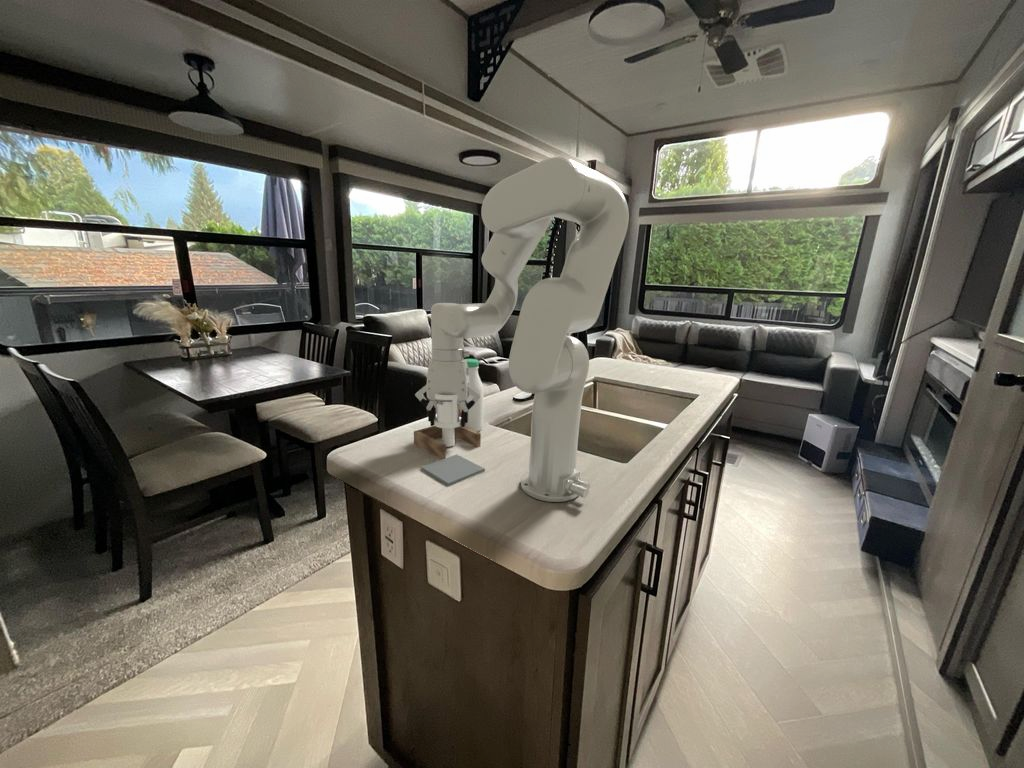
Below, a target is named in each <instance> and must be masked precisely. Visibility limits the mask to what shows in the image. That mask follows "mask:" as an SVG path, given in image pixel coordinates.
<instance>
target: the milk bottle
mask: <svg viewBox="0 0 1024 768" xmlns="http://www.w3.org/2000/svg"><path fill="white" fill-rule="evenodd" d="M463 360H466V361H467V365H468V373H469V385H470V386H471V387H472V388H473V389H474V390H475V391H477V392H478V393H479V394H480V395H481V397H480V399H479V400H478V401H477V402H476V403H475V404H474V405H473V406H472V407H471V408H470V409H469V410H468V423H466V424H465V426H464V427H467V428H469V429H472V430H474V431H476V432H481V431H482V429H483V428H484V398H485V397H484V385H483V382H482V380H481V377H480V375H479V368H480V367H479V364H480V363H479V360H478V359H476V358H463ZM472 399H473V396H472V395H471V394H470V393H469V396H468V397H467V402H469V401H471V400H472ZM458 403H459V402H458ZM461 412H462V407H461V405H460V403H459V417H461Z"/></svg>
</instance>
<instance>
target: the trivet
mask: <svg viewBox="0 0 1024 768" xmlns="http://www.w3.org/2000/svg"><path fill="white" fill-rule="evenodd" d="M420 470H421V471H423V472H425V473H426V474H428V475H430V476H431V477H433V478H435V479H437V480H438V481H439V482H442V483H443V484H445V485H446V486H448V487H450V486H451V485H454V484H456V483H459V482H462V481H464V480H466V479H467V480H468V478H471V477H473V476H476V475H478V474H481V473H483V472H485V471H486V469H485V468H484V467H482V466H481V465H478V464H477V463H474V462H473V461H470V460H469V459H467V458H466V457H463V456H461V455H459V454H454V455H451V456H447V457H446V458H445V459H440V460H439V459H438V460H437V461H434V462H430V463H428V464H425V465H422V466H420Z"/></svg>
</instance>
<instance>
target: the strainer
mask: <svg viewBox="0 0 1024 768" xmlns="http://www.w3.org/2000/svg"><path fill="white" fill-rule="evenodd" d="M435 398H436V399H440V400H452V402H445V401H436V418H435V419H434V426H436V427H439V428H442V438H441V439H442V441H441V442H442V443H444V444H446V447H452V446H455V441H456V440H455V437H454V428H456V427H459V426H461V417H459V403H458V402H457V399H458V395H456V394H455V395H440V394H435Z"/></svg>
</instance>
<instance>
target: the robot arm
mask: <svg viewBox="0 0 1024 768" xmlns="http://www.w3.org/2000/svg"><path fill="white" fill-rule="evenodd" d="M480 210H481V211H480V213H481V215H480V216H481V219H482V223H483V225H484V226H485V228H486V229H488V231H490V232H492V233H493V234H492V236H491V238H490V240H489V242H488V244H487V246H486V247H485V249H484V251H483V253H482V254H481V255H482V256H481V264H482V266H483V267H484V269H485V271H486V272H487V273H489V274H490V275H491V276H492V277H494V281H495V282H494V286H493V288H492V291H491V293H490V294H489V297H488V298H487V300H486V301H485V302H484V303H479V302H478V303H455V302H437V303H434V304H432V305H431V308H430V323H431V324H430V329H431V333H430V334H431V335H430V337H431V359H429V360H428V361H429V362H428V367H427V374H426V384H425V385H424V386H422V388H420V389H419V390H418V391H417V392H416V393H415V394H414V396H415V397H416V399H418V401H419V402H420V403H421V404H422V405H423V407H425V408H426V410H427V413H428V414H427V418H428V422H430V425H429V426H430V427H431V426H435V425H434V419H435V418H436V417H437V407H435V404H436V403H437V401H445V402H452V400H440V399H436V398H435V394H440V395H455V394H456V395H458V399H457V402H459V403H460V405H461V407H462V412H461V427H464V426H465V424H466V423H468V410H469V409H470V408H471V407H472V406H473V405H474V404H475V403H476V402H477V401H478V400H479V399H480V397H481V395H480V394H479V393H478V392H477V391H475V390H474V389H473V388H472V387H471V386H470V385H469V373H468V365H467V361H466V360H464V359H465V358H469V357H470V351H469V350H465V348H464V339H472V338H479V337H487V336H492V335H495V334H497V333H498V332H499V331H500V330H501V329H502V328H503V327H504V325H505V324H506V323H507V321H508V320H509V318H510V317H511V315H512V313H513V312H514V309H515V307H516V305H517V302H518V295H519V283H518V280H519V277H520V275H521V274H522V272H523V270H524V268H525V266H526V265H527V263H528V261H529V259H530V258H531V256H532V255H533V253H534V252H535V250H536V248H537V246H538V245H539V243H540V242H541V239H542V237H543V236H544V234H545V232H546V231H547V229H548V228H549V226H550V224H551V221H552V218H558V219H561V220H564V221H569V222H574V223H576V224H578V225H579V226H580V229H579V232H578V233H577V234H576V236H574V237H575V238H574V239H573V240H572V242H571V244H570V246H569V248H568V249H567V250H568V251H567V253H566V256H565V257H566V258H565V262H564V265H563V268H562V270H561V271H562V272H561V273H560V277H546V278H544V279H541V280H539V281H538V282H536V283H535V284H534V285H532V287H531V288H530V289H529V290H528V292H527V294H526V295H525V297H524V300H523V302H522V305H521V309H520V312H519V316H518V319H517V323H516V328H515V330H514V331H515V332H514V336H513V339H512V344H511V348H510V352H509V355H508V356H509V357H508V373H509V376H510V379H511V381H512V383H513V384H514V386H515V387H516V389H518V390H520V391H521V392H522V393H523V392H524V393H526V394H534V397H533V402H532V413H531V425H530V426H531V427H530V445H529V446H530V448H529V464H528V472H527V471H526V473H524V474H523V475H522V477H521V479H520V486H521V489H522V491H523V492H524V493H526V495H528V496H529V497H531V498H533V499H536V500H540V501H543V502H548V503H552V502H553V503H561V502H567V501H571V500H573V499H576V498H577V497H581V498H583V499H586V498H587V497H588V495H589V492H590V491H589V489H590V487H591V483H590V482H587V481H586V480H585V481H584V480H581V478H580V476H581V470H578V469H576V467H577V456H578V444H579V432H580V422H581V414H582V411H581V410H582V403H583V395H584V390H585V386H586V384H587V378H588V375H589V374H588V373H589V369H590V368H589V367H590V357H589V352H588V350H587V348H586V346H585V344H584V343H583V342H582V341H581V340H579V339H578V338H577V337H574V336H571V335H568V334H573V333H574V334H575V333H580V332H584V331H587V330H588V329H590V328H591V327H593V326H594V325H595V324H596V322H597V320H598V319H599V317H600V313H601V311H602V307H603V304H604V301H605V299H606V298H605V297H606V294H607V292H608V289H609V286H610V282H611V279H612V276H613V273H614V269H615V267H616V263H617V260H618V257H619V255H620V252H621V249H622V246H623V244H624V241H625V238H626V234H627V231H628V228H629V227H628V226H629V220H630V218H629V217H630V214H629V213H630V212H629V211H630V210H629V205H628V202H627V199H626V196H625V195H624V193H623V192H622V190H621V189H620V187H618V186H617V185H616V184H615V183H614V182H613V181H611V179H609V178H608V177H606V176H605V175H604V174H602V173H600V172H599V171H597V170H595V169H592V168H590V167H588V166H585V165H584V164H582V163H580V162H577V161H576V160H573V159H571V158H569V157H563V156H553V157H549V158H545V159H543V160H540V161H539V162H537V163H535V164H532V165H530V166H528V167H526V168H524V169H522V170H520V171H517V172H515V173H514V174H512V175H510V176H508V177H505V178H503V179H502V180H501V181H498V183H496V184H495V185H493V186H492V187H491V188H490V189H489V191H488V192H487V193H486V195H485V197H484V199H483V201H482V205H481V209H480ZM425 393H426V397H425V395H424V394H425ZM469 393H470V394H471V395H472V396H473V399H472V400H471V401H469V402H467V397H468V396H469Z"/></svg>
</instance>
